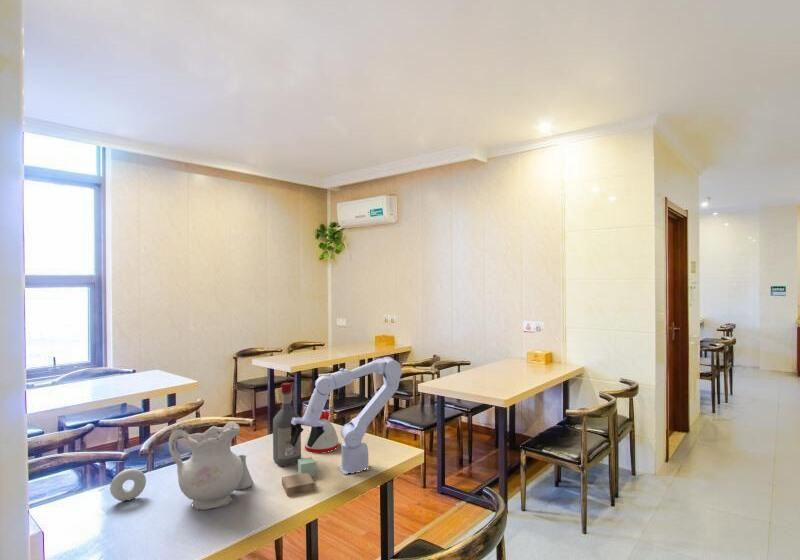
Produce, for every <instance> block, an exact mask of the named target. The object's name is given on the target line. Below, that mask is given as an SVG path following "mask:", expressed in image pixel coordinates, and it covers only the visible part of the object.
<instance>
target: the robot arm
mask: <svg viewBox="0 0 800 560" xmlns="http://www.w3.org/2000/svg"><path fill="white" fill-rule="evenodd" d="M373 373H376V374H379V375H382V379H383V385H381V387H380V388H379V389H378V391H377V392H376V393H375V394H374V396H372V398H371V399H370V400H369V402H367V404H366V405H365V406H364V408H363V409H362V410H361V411H360V412H359V413H358V415H357V416H355V417H354V418H352V419H351V420H350V421H349V422H347V423H345V424H344V425H343V426H342V427H341V430H340V435H341V438H343V439H342V442H341V464H338V466H337V467H338V469H339V470H340V471H341V472H342V474H343V475H345V474H346V475H349V474H348V473H351V474H354V473H353V472H356V473H359V472H358V471H361V472H363V471H362V470H364V469H365V468H366V469H367V468H369V449H368V445H367V443H365V442H362V441H363V438H364V436H365V434H367V428H368V426H369V425H370V424H371V423H372V421H373V420H374V419H375V418H376V417H377V415H378V414H379V413H380V411H382V409H383V408H384V406H386V404H387V403H388V401H390V399H391V398H392V397H393V396H394V394H395V393H396V392H397V391H398V389H399V385H400V381H401V376H402V375H403V372H402V365H401V364H400V363H399V362H398V361H397V360H395V359H394V358H392V357H390V356H384V357H382V358H381V357H380V358H377V359H374V360H373V361H369V362H368V363H365V364H362V365H360V366H358V367H356V368H355V367H354V368H353V369H348V368H344V367H341V368H339V370H338V371H336V372H333V373H331V372H329V373H327V374H326V375H321V376H319V377H318V378H317V379H316V380H315V381H314V386H315V388H314V389H313V391H312V394H311V396H310V399H309V401H308V404H307V407H306V409H305V412H304V414H303V416H302V417H300V418H292V421H291V441H290V444H291V445H292V446H295V444H296V442H297V440H298V437H299V436H300V434H301V433H303V431H304V430H305V429H304V428H302V427H303V426H304V427H305V426H306V427H311V433H310V437H309V440H308V443H307V445H308V446H309V447H312V446H313V444H314V443H315V441H316V440H317V439H318V438H319V437H320V436H321V435H322V434H323V433H324V430H323V429H325V428H326V426H327V423H325V422H322V421H319V419H320V417H321V414H322V411H324V408H325V406H326V402H327V401H328V397H329V395H330V394H331V393H332V392H333V390H337V389H341V388H342V387H344V386H347V385H351V384H352V383H353V380H355V379H358V378H361V377H363V376H367V375H370V374H373ZM301 435H302V434H301ZM366 469H365V470H366ZM366 471H367V470H366Z"/></svg>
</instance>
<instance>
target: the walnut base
mask: <svg viewBox="0 0 800 560" xmlns="http://www.w3.org/2000/svg"><path fill="white" fill-rule="evenodd" d="M281 485H282V488H283V490H284V493H285V494H286V497H289V496H294V495H299V494H303V493H308V492H313V491H315V481H314V479H313V478H312V476H310V475H309V473H308V472H306V473H301V474H298V473H297V474H291V475H288V476H287V475H286V476H281Z"/></svg>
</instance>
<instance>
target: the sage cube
mask: <svg viewBox="0 0 800 560" xmlns="http://www.w3.org/2000/svg"><path fill="white" fill-rule="evenodd" d="M306 472H308V473H309V475H310V476H311V477H316V461H315V459H314V458H313V457H312V456H311V457H310V456H309V457H305V458H304V457H303V458H301V459H298V463H297V474H301V473H306Z"/></svg>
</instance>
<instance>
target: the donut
mask: <svg viewBox="0 0 800 560" xmlns="http://www.w3.org/2000/svg"><path fill="white" fill-rule="evenodd" d="M127 481H132V482H133V483H134V484H133V486H132V487H131V488H129V489H125V488H123V487H124V486H123V485H124V483H125V482H127ZM146 483H147V478H146V475H145V473H144V472H143V471H141V470H140V469H137V468H128V469H124V470H121V471H120V472H119V473H117V474H116V475H115V476H114V477H113V478H112V481H111V483H110V486H109V487H110V488H109V491H110V494H111V496H112V497H113V498H114V499H115V500H117V501H120V502H125V501H124V500H129V499H132V500H134V499H136V498H137V497H139V496H140V495H141V494H142V493H143V492H144V489H145V487H146ZM135 497H136V498H135ZM133 498H134V499H133ZM129 501H130V500H129Z"/></svg>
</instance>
